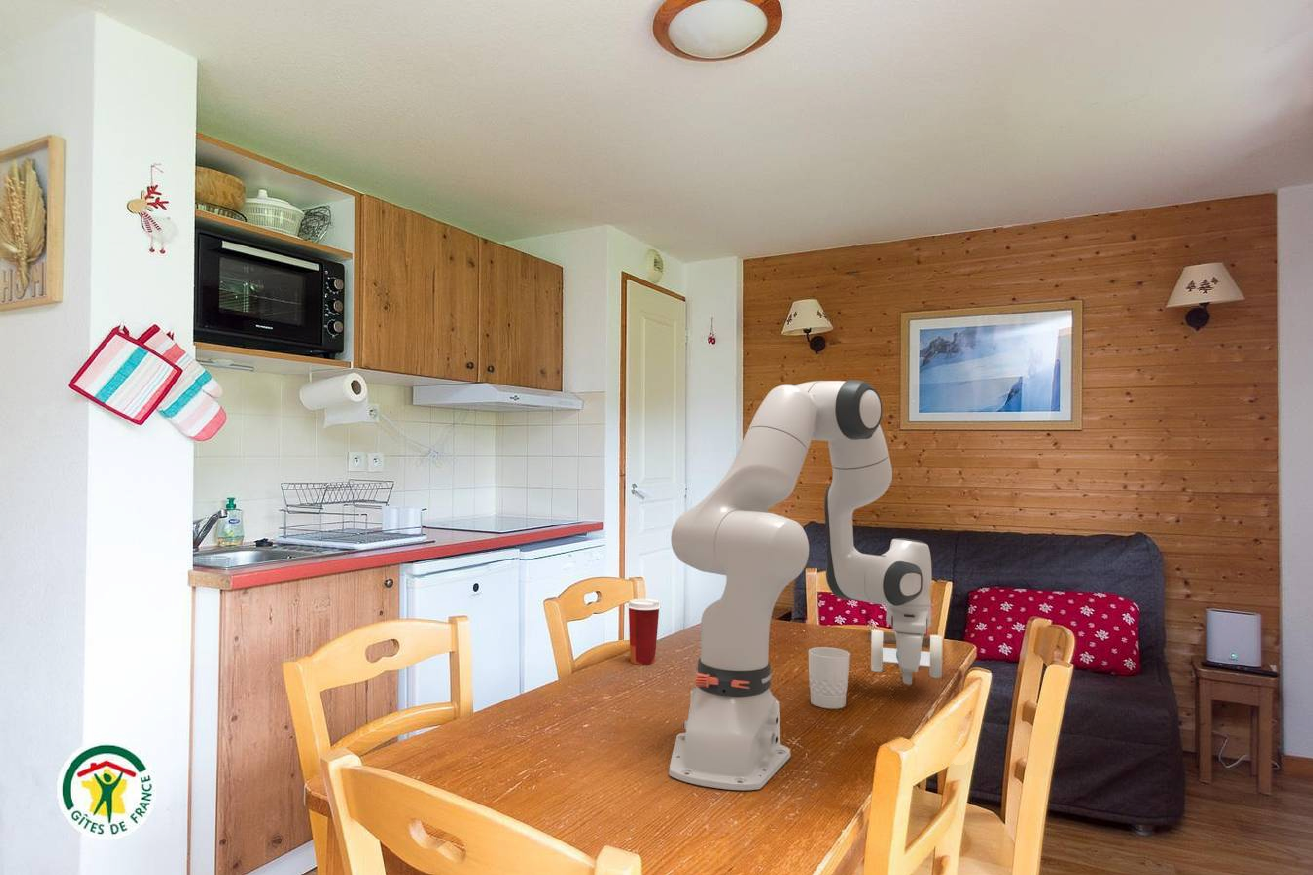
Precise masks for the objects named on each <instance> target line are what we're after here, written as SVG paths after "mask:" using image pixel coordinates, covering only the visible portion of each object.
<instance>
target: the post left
mask: <svg viewBox="0 0 1313 875" xmlns="http://www.w3.org/2000/svg"><path fill="white" fill-rule="evenodd" d="M871 631H872V638H871V644H870V647H871V648H870V649H871V650H870V651H871V653H870V671H871V672H875V673H882V672H883V671H884V662H883V648H884V643H883V632H885V631H884V630H882V629H875V628H874V629H871Z"/></svg>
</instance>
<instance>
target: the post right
mask: <svg viewBox="0 0 1313 875" xmlns="http://www.w3.org/2000/svg"><path fill="white" fill-rule="evenodd" d="M929 636H930V647H929V652H930V667H929V673H928V674H929V677H930V678H932V677H933V679H942V677H943V635H939V634H930V635H929Z"/></svg>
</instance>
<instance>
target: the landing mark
mask: <svg viewBox="0 0 1313 875" xmlns="http://www.w3.org/2000/svg"><path fill="white" fill-rule="evenodd" d="M896 651H897V648H895V647H894V648H893V647H883V663H887V664H889V663H890V664H898V660H897V658H896ZM898 665H899V664H898ZM919 667H927V668H930V651H922V650H921V660H920V665H919Z"/></svg>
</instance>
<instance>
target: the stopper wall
mask: <svg viewBox="0 0 1313 875" xmlns="http://www.w3.org/2000/svg"><path fill="white" fill-rule="evenodd" d="M871 638H872V630H870V629H869V630H868V632H867V642H871ZM883 644H892V645H897V644H896V636H895V633H894V632H889V631H884V632H883ZM922 646H930V635H926V634H924V635H923V642H922Z"/></svg>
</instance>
